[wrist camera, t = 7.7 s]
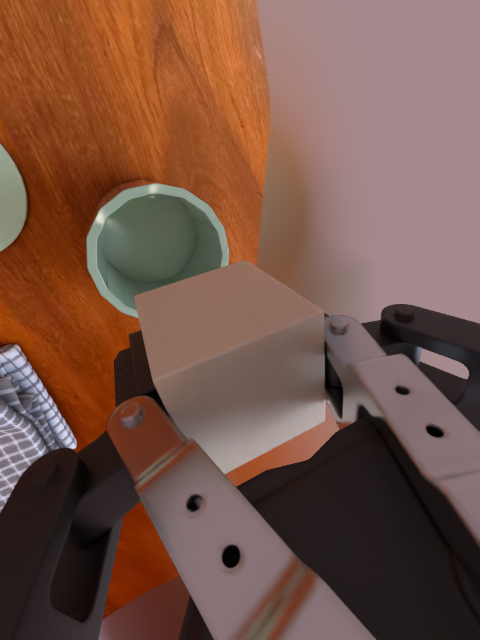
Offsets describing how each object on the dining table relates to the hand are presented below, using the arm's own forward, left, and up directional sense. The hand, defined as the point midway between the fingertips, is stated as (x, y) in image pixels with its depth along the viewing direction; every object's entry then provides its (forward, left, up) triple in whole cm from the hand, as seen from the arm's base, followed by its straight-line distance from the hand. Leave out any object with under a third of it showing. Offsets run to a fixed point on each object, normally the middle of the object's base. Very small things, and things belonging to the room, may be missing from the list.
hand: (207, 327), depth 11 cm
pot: (0, 0, -19) cm, 19 cm away
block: (0, 0, 0) cm, 0 cm away
